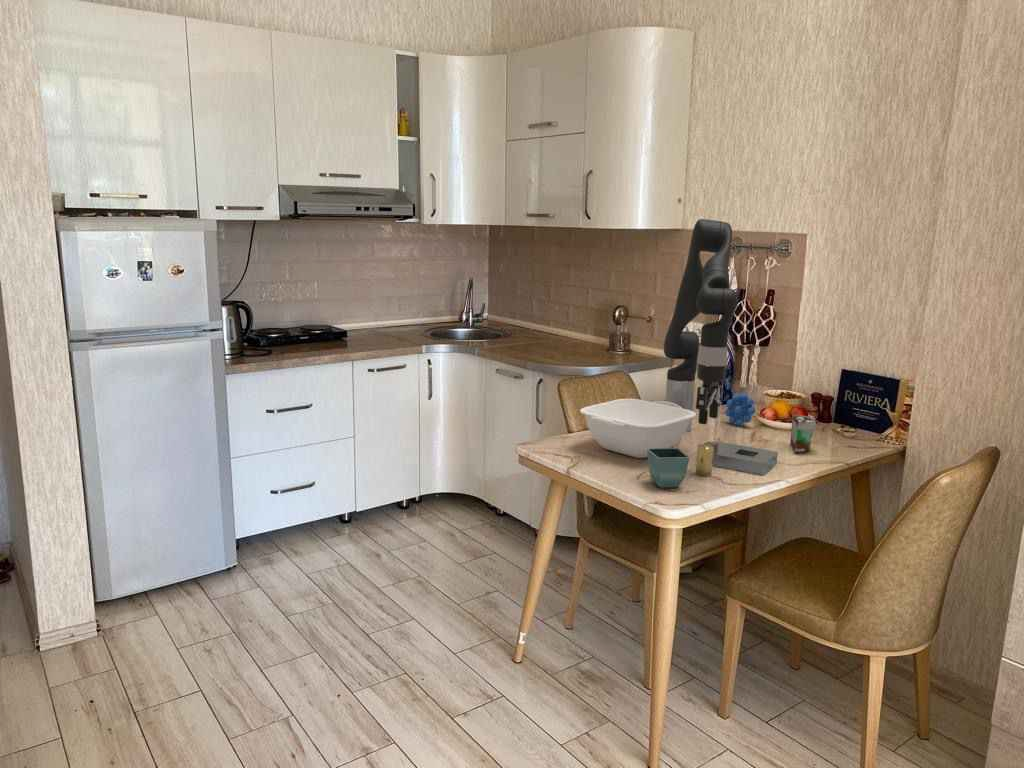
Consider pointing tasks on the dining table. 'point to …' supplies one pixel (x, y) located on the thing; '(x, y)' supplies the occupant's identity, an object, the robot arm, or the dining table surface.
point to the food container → (801, 433)
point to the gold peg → (704, 460)
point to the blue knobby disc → (740, 409)
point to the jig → (743, 458)
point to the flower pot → (667, 466)
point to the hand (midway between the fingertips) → (707, 420)
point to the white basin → (636, 425)
